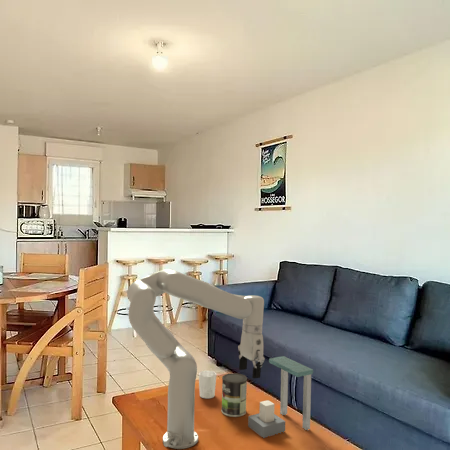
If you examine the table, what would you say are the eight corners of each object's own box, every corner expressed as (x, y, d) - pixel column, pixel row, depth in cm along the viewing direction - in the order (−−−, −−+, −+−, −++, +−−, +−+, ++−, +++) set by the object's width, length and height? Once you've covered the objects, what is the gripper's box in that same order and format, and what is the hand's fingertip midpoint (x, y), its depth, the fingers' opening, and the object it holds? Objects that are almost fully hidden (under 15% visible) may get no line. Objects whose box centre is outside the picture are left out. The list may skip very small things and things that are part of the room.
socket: (263, 438, 156) (263, 427, 156) (248, 426, 165) (248, 415, 165) (285, 431, 161) (285, 421, 161) (269, 420, 170) (269, 410, 170)
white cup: (195, 393, 195) (196, 371, 195) (211, 391, 198) (212, 369, 198) (202, 400, 188) (202, 377, 188) (218, 397, 191) (219, 375, 191)
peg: (265, 432, 160) (265, 406, 160) (259, 428, 164) (259, 402, 164) (273, 430, 162) (274, 404, 162) (267, 425, 166) (268, 400, 165)
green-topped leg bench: (296, 435, 159) (297, 372, 158) (267, 415, 174) (269, 358, 174) (311, 430, 162) (313, 369, 162) (282, 411, 178) (283, 356, 178)
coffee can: (228, 419, 171) (229, 383, 170) (217, 408, 180) (217, 375, 180) (251, 414, 175) (251, 379, 175) (238, 404, 184) (239, 371, 184)
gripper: (273, 333, 158) (270, 380, 158) (248, 323, 173) (246, 365, 173) (256, 334, 154) (253, 382, 154) (232, 323, 169) (229, 367, 169)
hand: (249, 373), depth 163 cm, fingers open, 9 cm apart
